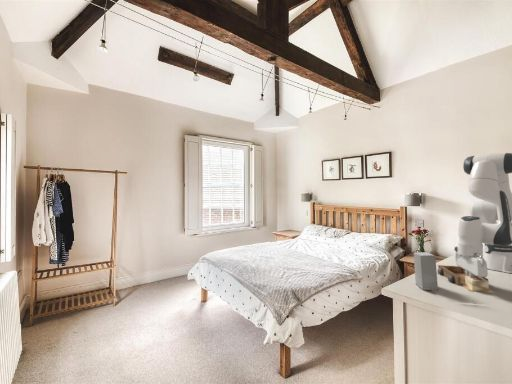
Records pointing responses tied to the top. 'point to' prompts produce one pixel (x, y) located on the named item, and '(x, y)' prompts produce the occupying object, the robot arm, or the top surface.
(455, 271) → the cart bed
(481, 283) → the block
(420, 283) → the skincare box
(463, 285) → the tailgate
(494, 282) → the top surface
